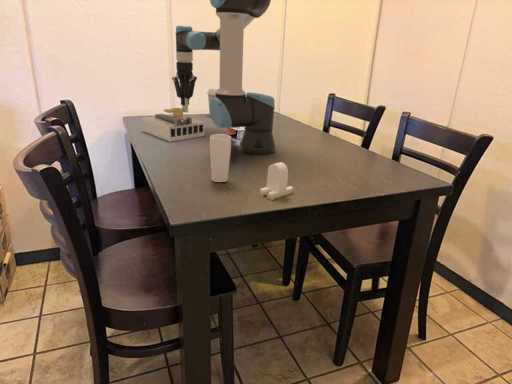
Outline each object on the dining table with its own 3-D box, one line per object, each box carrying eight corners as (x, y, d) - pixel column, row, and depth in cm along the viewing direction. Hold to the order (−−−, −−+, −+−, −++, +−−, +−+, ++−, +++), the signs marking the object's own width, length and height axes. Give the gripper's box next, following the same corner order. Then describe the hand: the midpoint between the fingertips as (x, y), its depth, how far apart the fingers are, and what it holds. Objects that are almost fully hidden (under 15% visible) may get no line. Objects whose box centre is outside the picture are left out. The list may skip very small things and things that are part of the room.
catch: (183, 115, 187) (183, 109, 185) (168, 117, 181) (168, 110, 180) (178, 114, 189) (178, 107, 188) (164, 116, 184) (164, 109, 183)
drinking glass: (231, 184, 125) (233, 139, 119) (211, 185, 123) (211, 139, 117) (227, 176, 131) (228, 133, 125) (207, 177, 129) (208, 133, 123)
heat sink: (204, 136, 179) (204, 116, 176) (169, 141, 167) (168, 121, 163) (177, 126, 193) (176, 108, 190) (143, 131, 181) (142, 112, 177)
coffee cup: (209, 114, 227) (209, 88, 221) (225, 115, 226) (225, 89, 220) (205, 117, 218) (205, 90, 212) (221, 118, 217) (222, 91, 211)
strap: (188, 124, 171) (188, 120, 170) (180, 125, 168) (180, 121, 167) (162, 116, 184) (162, 112, 184) (154, 117, 182) (154, 113, 181)
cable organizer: (259, 194, 118) (261, 163, 114) (281, 188, 124) (283, 158, 120) (271, 200, 114) (273, 168, 110) (293, 193, 121) (296, 162, 117)
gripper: (191, 60, 187) (191, 109, 196) (168, 60, 178) (169, 111, 187) (200, 62, 182) (200, 112, 191) (177, 62, 173) (178, 114, 182)
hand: (185, 111), depth 189 cm, fingers closed
